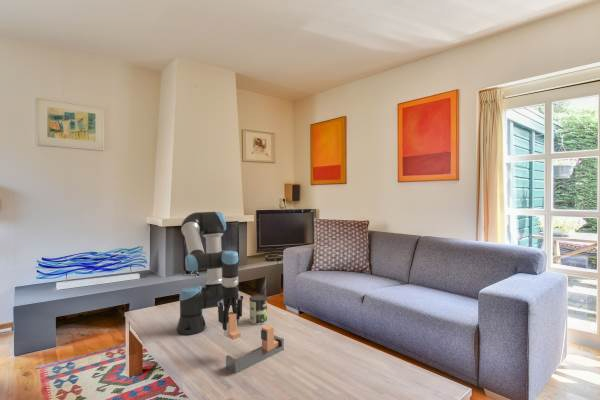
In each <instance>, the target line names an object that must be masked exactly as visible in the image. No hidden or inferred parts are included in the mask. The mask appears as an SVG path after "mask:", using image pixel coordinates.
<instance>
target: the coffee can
mask: <svg viewBox="0 0 600 400" xmlns="http://www.w3.org/2000/svg"><path fill="white" fill-rule="evenodd" d="M248 299H249V323H250V324H252V325H255V326H256V325H259V326H260V325H263V324H266V323H267V322H268V296H266V295H264V294H254V295H251V296H249V297H248Z"/></svg>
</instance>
